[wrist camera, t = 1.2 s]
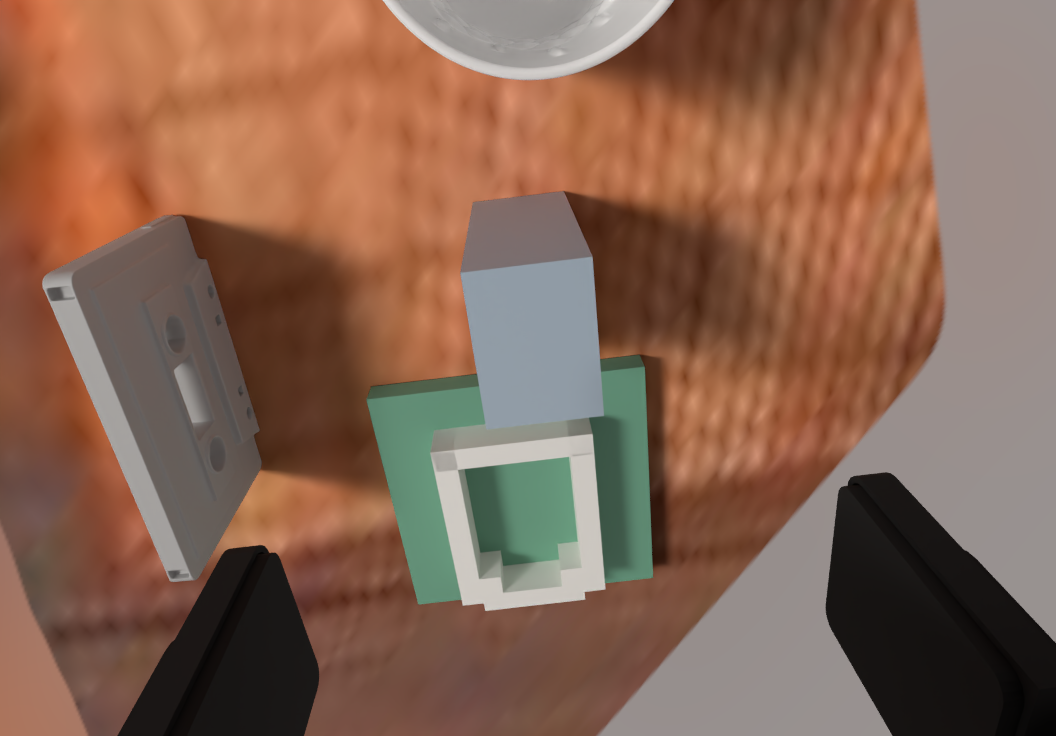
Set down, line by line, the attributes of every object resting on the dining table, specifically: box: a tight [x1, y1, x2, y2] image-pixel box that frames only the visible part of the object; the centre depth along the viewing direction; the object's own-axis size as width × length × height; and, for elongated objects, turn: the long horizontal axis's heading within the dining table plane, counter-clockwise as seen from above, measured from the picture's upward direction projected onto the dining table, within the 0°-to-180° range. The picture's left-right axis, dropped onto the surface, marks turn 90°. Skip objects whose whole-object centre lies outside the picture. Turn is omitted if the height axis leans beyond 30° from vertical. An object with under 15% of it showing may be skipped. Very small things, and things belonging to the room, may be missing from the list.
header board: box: [366, 355, 653, 611], centre depth 30 cm, size 12×12×3 cm
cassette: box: [43, 215, 262, 582], centre depth 25 cm, size 12×2×8 cm, turn 5°
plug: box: [460, 191, 604, 430], centre depth 23 cm, size 6×4×9 cm, turn 6°
